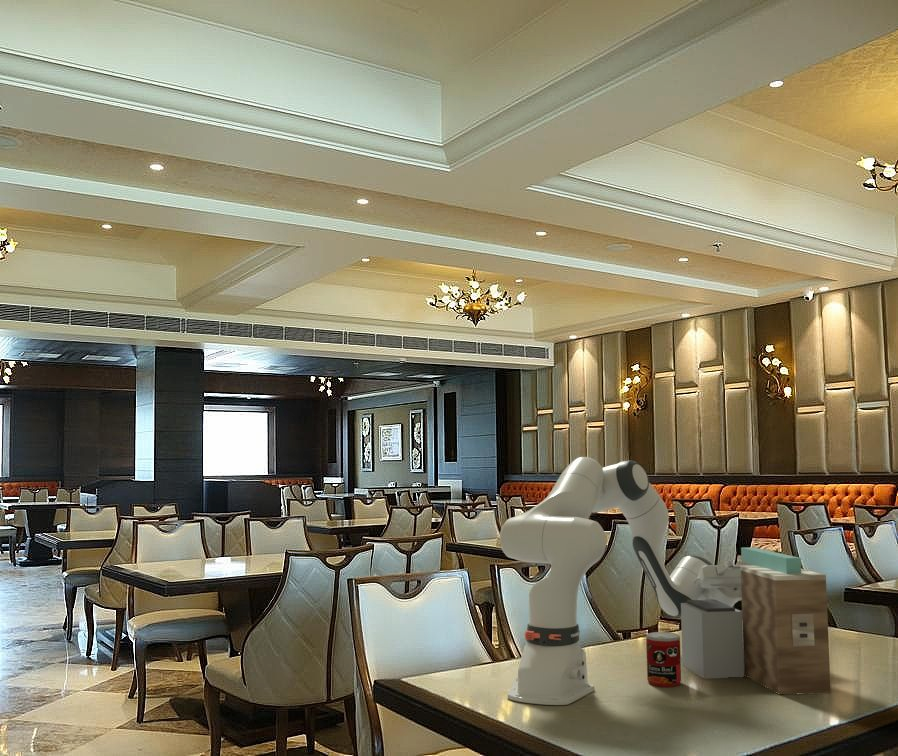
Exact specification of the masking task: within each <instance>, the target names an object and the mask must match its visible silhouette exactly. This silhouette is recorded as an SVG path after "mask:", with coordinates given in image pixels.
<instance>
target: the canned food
mask: <svg viewBox="0 0 898 756" xmlns="http://www.w3.org/2000/svg"><path fill="white" fill-rule="evenodd" d="M645 643H646V644H645V646H646V647H645V648H646V676H647V678H646V679H647V682H648V683H649V685H652V686H655V687H660V688H673V687H679V685H680V684H681V682H682V670H681V669H682V667H681V666H682V664H681V663H682V662H681V658H682V656H681V636H680V634H678V633H673V632H668V631H654V632H653V631H652V632H649V633H647V634H646V638H645Z"/></svg>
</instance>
